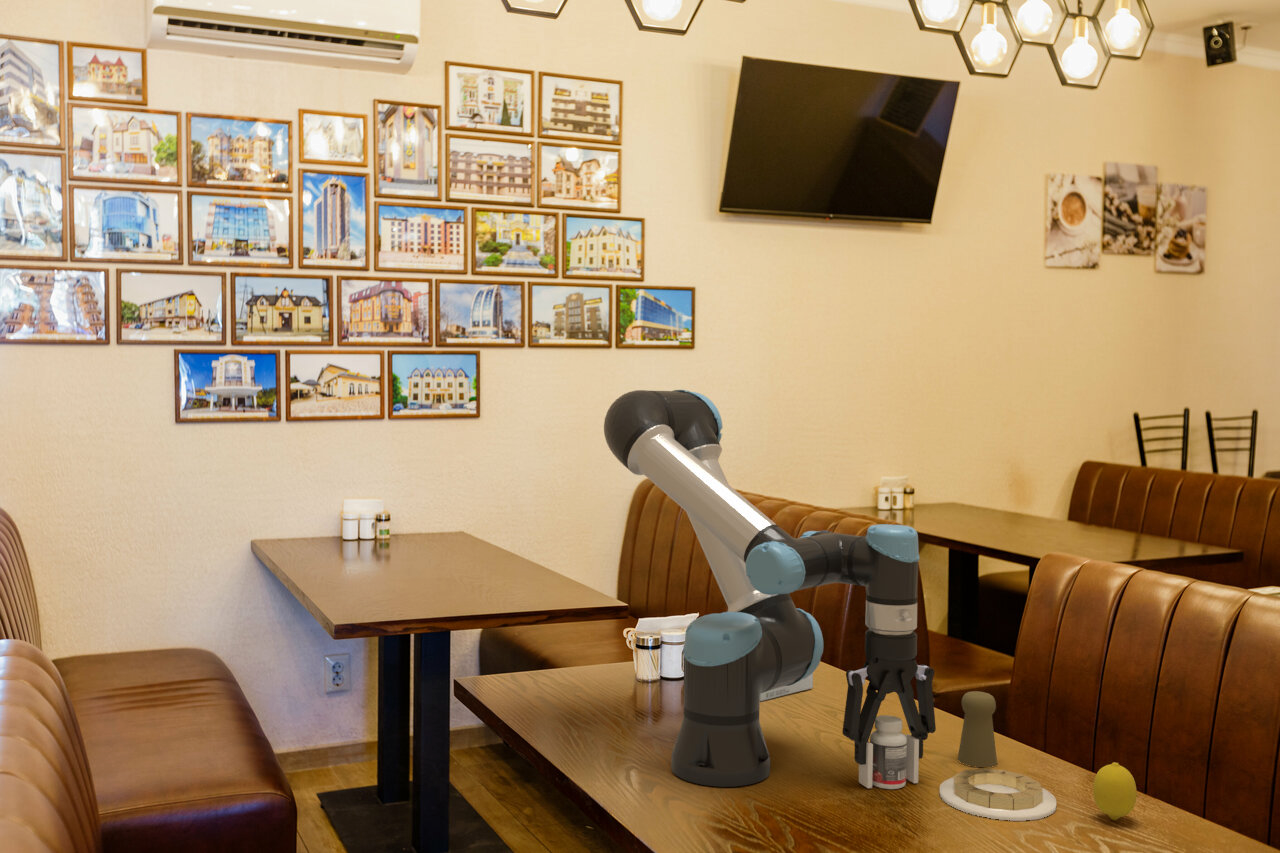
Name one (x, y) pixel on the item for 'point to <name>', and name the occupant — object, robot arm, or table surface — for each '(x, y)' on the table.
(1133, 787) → the lemon
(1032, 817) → the coaster
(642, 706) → the table surface
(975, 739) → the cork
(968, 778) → the collar
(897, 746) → the pill bottle
